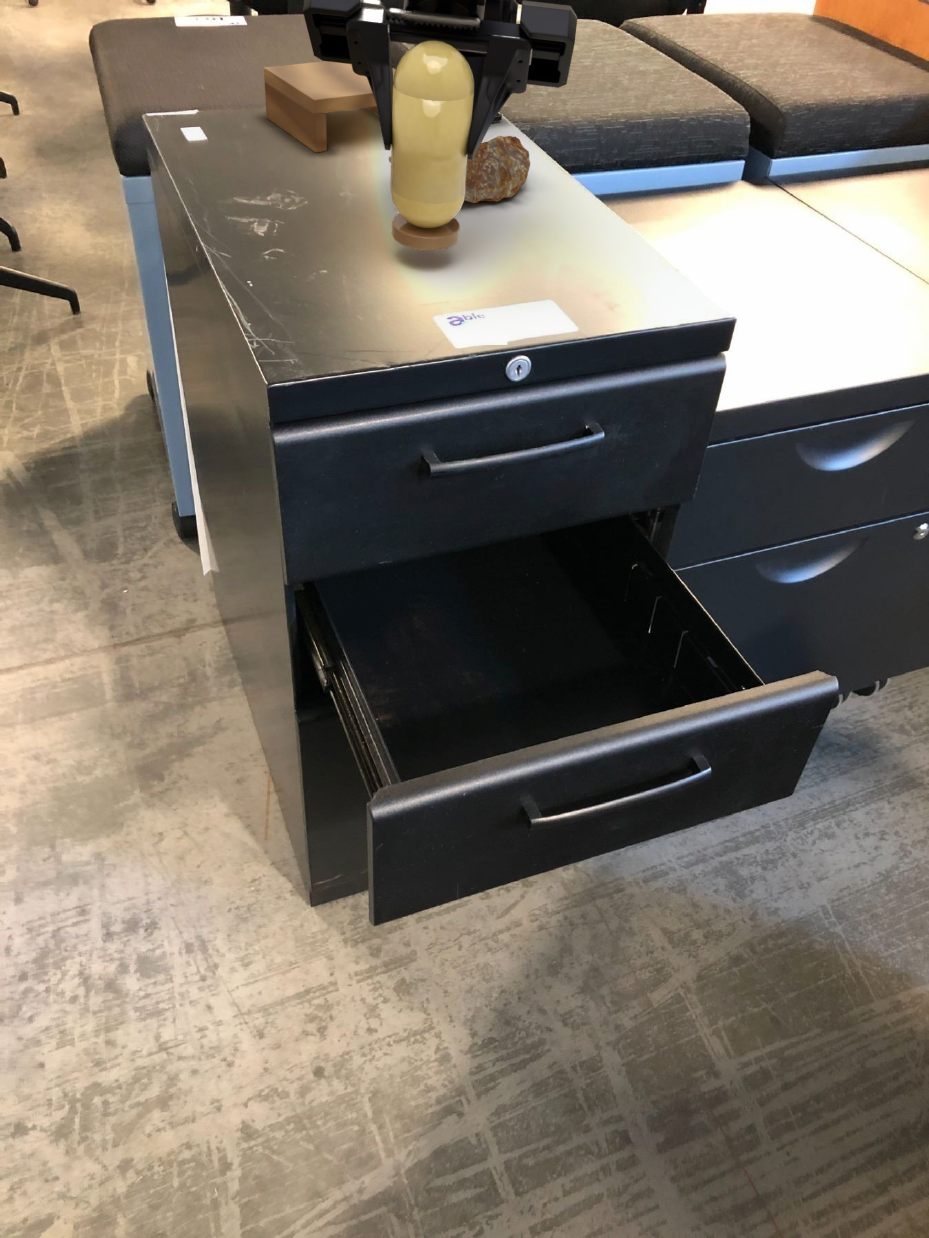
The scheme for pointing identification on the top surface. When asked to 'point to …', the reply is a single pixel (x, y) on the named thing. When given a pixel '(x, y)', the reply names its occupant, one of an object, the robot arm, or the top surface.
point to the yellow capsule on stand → (430, 144)
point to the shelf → (313, 97)
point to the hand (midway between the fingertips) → (428, 152)
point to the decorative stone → (496, 170)
